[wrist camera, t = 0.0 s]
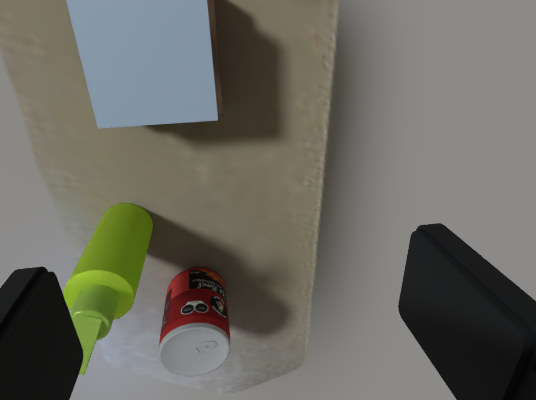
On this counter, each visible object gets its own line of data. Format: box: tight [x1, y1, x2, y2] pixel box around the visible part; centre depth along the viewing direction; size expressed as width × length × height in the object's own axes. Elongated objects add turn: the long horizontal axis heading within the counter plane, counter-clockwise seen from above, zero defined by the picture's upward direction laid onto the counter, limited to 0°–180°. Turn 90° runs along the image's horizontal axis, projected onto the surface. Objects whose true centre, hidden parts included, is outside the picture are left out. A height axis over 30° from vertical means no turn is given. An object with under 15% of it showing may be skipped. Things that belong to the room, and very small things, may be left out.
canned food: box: [159, 268, 230, 376], centre depth 44 cm, size 8×8×11 cm
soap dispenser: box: [64, 203, 153, 375], centre depth 34 cm, size 6×7×20 cm
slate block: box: [66, 0, 218, 128], centre depth 30 cm, size 10×10×4 cm
